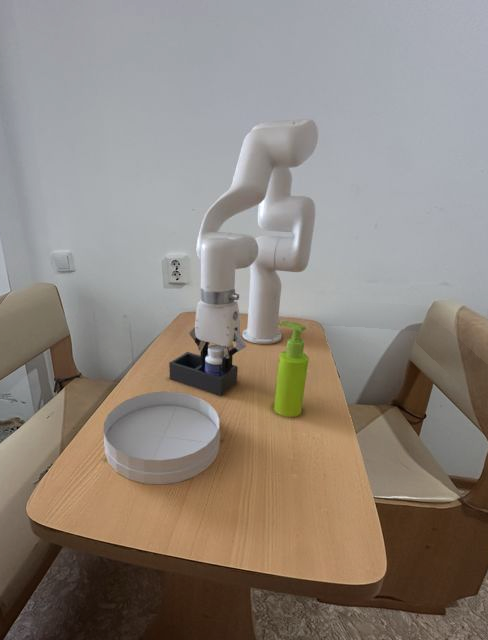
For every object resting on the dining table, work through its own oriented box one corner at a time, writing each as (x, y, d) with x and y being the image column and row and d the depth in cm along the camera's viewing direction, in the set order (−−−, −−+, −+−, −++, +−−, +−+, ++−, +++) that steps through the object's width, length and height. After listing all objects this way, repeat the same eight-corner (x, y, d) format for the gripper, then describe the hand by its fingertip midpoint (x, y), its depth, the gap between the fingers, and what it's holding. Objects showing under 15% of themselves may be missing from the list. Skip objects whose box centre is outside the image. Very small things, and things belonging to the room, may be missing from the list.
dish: (227, 416, 80) (227, 397, 78) (209, 493, 60) (210, 470, 58) (129, 405, 84) (127, 386, 82) (83, 474, 64) (79, 451, 62)
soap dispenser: (279, 397, 87) (288, 316, 79) (306, 409, 83) (318, 325, 74) (264, 407, 83) (272, 323, 75) (291, 420, 79) (303, 332, 70)
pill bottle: (224, 386, 90) (225, 353, 86) (203, 384, 91) (203, 351, 87) (227, 376, 94) (228, 344, 91) (207, 374, 95) (207, 342, 92)
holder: (187, 367, 102) (187, 351, 100) (236, 382, 94) (237, 366, 92) (169, 378, 96) (169, 362, 94) (220, 396, 88) (221, 379, 86)
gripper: (259, 297, 82) (254, 370, 90) (195, 286, 91) (195, 353, 98) (243, 306, 76) (239, 383, 84) (176, 293, 85) (178, 364, 93)
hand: (216, 366), depth 91 cm, fingers closed on pill bottle, 5 cm apart
